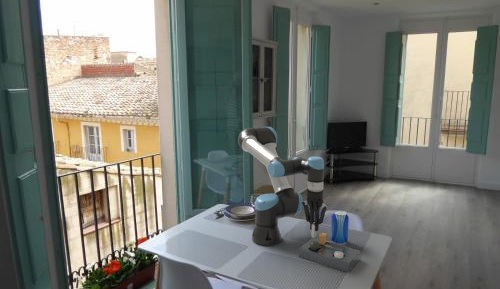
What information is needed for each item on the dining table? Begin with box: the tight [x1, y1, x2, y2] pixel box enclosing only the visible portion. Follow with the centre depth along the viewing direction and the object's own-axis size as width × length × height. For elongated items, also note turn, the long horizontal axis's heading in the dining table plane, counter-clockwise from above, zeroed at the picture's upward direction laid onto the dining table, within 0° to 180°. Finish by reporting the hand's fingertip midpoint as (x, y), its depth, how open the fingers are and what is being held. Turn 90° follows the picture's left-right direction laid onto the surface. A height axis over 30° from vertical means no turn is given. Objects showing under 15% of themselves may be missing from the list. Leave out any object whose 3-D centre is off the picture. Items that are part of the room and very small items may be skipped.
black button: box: [310, 241, 319, 252], centre depth 164 cm, size 4×4×4 cm
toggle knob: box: [318, 232, 328, 244], centre depth 169 cm, size 2×3×5 cm
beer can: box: [330, 210, 350, 246], centre depth 180 cm, size 8×8×16 cm
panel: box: [298, 237, 361, 274], centre depth 164 cm, size 24×14×5 cm, turn 54°
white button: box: [334, 251, 344, 259], centre depth 157 cm, size 4×4×4 cm
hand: (314, 236), depth 171 cm, fingers closed
